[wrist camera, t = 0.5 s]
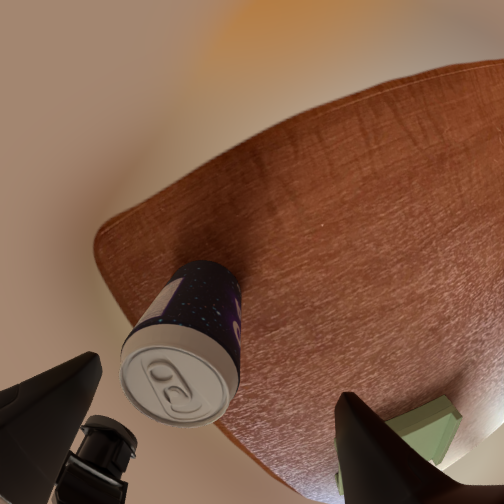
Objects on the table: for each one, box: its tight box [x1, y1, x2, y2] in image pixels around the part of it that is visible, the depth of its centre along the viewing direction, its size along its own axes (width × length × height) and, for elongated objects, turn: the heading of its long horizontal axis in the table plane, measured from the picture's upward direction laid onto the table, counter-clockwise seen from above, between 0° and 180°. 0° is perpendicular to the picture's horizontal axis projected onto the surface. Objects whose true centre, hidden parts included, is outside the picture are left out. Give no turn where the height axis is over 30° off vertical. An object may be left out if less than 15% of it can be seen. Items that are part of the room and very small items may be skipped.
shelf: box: [334, 395, 463, 495], centre depth 25 cm, size 16×12×5 cm
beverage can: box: [119, 260, 241, 428], centre depth 16 cm, size 6×6×12 cm
